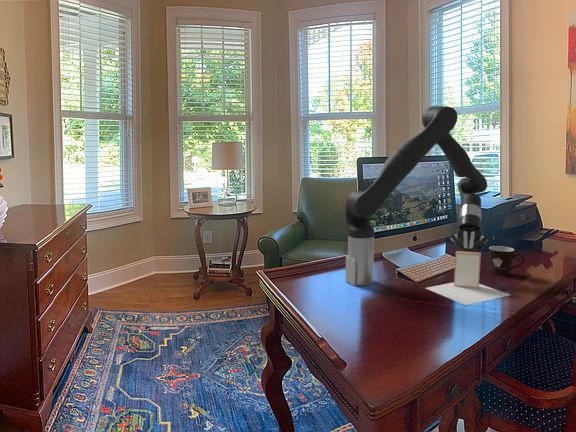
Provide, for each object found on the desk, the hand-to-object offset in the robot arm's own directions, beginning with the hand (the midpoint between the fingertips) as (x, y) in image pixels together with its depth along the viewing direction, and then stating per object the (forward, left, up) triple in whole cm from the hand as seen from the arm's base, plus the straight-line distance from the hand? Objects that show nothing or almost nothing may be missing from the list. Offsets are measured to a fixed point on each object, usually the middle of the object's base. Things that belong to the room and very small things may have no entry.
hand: (467, 259), depth 152 cm
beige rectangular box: (-2, -2, -9) cm, 9 cm away
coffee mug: (+21, +2, -10) cm, 23 cm away
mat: (-6, -6, -9) cm, 13 cm away
